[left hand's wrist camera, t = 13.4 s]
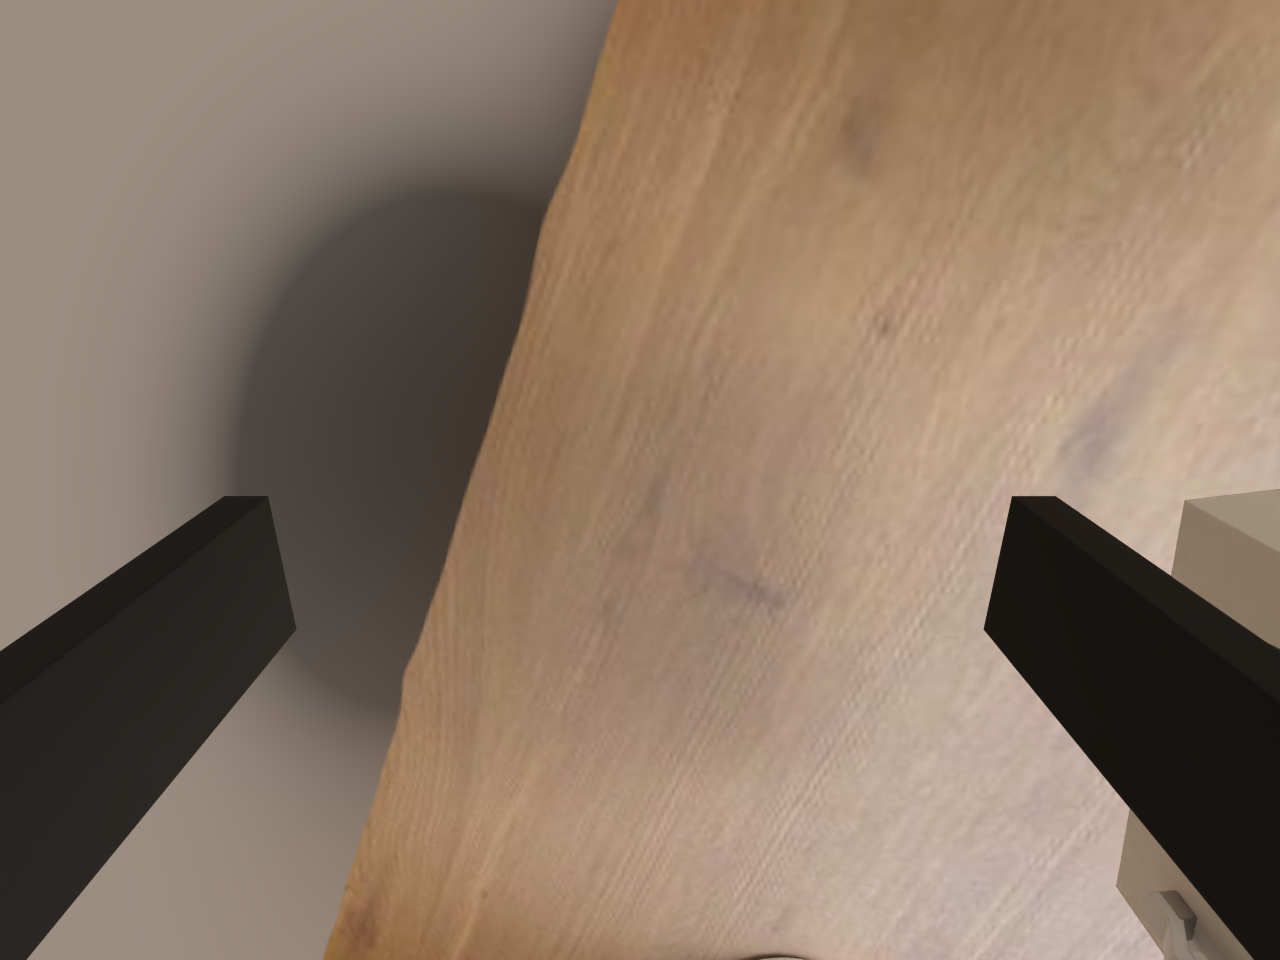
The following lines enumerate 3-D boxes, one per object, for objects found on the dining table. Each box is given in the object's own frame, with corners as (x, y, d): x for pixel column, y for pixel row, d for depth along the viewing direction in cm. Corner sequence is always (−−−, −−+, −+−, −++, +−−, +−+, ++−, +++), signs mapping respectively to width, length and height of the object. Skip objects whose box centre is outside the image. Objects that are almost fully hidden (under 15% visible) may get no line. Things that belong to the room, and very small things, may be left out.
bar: (1183, 499, 33) (1370, 601, 25) (1291, 487, 33) (1517, 585, 25) (1115, 886, 43) (1232, 1054, 35) (1198, 878, 43) (1336, 1046, 34)
